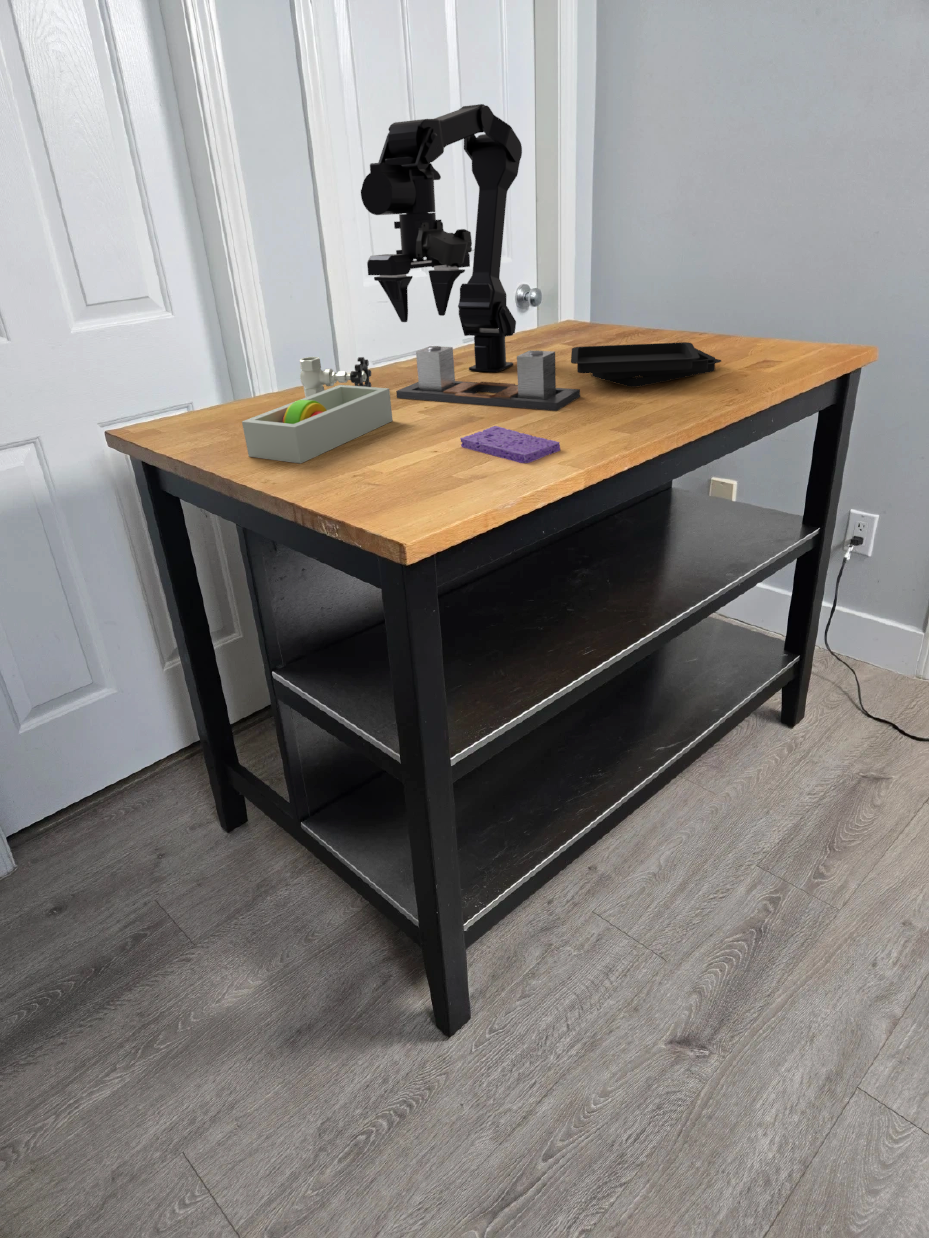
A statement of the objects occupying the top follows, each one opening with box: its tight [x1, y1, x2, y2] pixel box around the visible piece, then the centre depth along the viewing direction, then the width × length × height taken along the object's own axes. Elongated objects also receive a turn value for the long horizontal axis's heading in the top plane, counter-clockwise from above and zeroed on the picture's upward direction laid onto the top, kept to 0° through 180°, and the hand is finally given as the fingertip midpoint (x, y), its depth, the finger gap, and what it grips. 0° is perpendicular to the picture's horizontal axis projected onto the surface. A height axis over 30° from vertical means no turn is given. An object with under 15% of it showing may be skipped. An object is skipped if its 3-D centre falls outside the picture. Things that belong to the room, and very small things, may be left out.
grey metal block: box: [516, 349, 557, 400], centre depth 132 cm, size 4×4×8 cm
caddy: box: [241, 384, 393, 464], centre depth 122 cm, size 22×10×5 cm, turn 150°
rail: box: [396, 380, 581, 412], centre depth 138 cm, size 30×9×1 cm, turn 60°
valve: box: [299, 356, 372, 398], centre depth 145 cm, size 7×7×12 cm
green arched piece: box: [282, 399, 327, 424], centre depth 121 cm, size 6×20×7 cm, turn 150°
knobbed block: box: [415, 345, 456, 392], centre depth 141 cm, size 4×4×8 cm
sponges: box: [459, 425, 561, 464], centre depth 112 cm, size 7×13×2 cm, turn 42°
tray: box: [570, 341, 722, 388], centre depth 141 cm, size 30×23×5 cm
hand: (423, 318), depth 136 cm, fingers open, 9 cm apart
